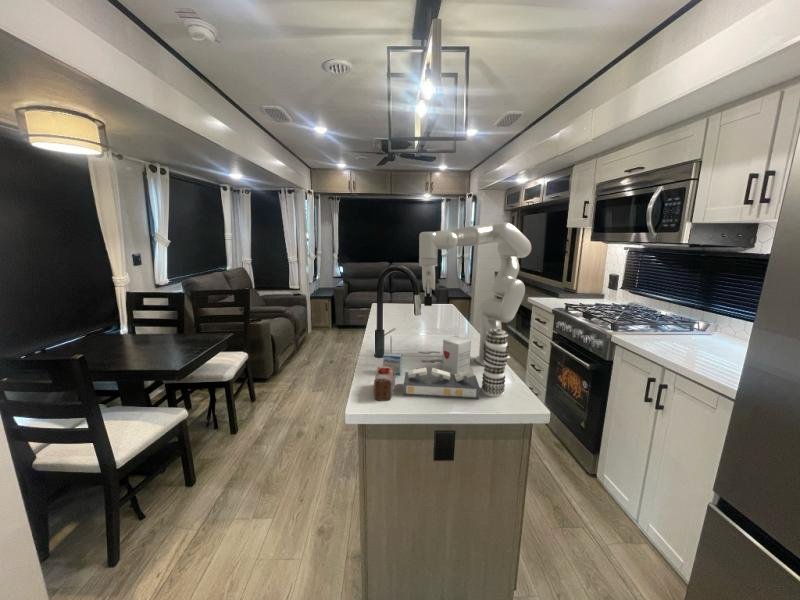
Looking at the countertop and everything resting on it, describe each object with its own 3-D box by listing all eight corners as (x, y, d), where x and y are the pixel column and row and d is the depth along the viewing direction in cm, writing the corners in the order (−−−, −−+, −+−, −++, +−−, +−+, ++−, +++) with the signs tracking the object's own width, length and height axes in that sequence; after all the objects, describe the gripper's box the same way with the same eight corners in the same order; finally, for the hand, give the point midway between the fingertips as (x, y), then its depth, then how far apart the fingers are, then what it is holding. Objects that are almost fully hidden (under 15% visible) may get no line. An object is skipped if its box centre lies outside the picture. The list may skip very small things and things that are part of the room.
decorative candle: (486, 384, 131) (490, 325, 126) (508, 390, 125) (513, 329, 121) (476, 392, 124) (480, 330, 120) (499, 399, 118) (504, 335, 114)
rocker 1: (426, 370, 126) (426, 367, 125) (426, 374, 122) (425, 370, 122) (409, 373, 126) (408, 370, 126) (408, 377, 123) (408, 373, 123)
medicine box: (382, 374, 139) (382, 355, 138) (384, 370, 144) (384, 352, 142) (400, 375, 138) (400, 356, 137) (401, 371, 143) (402, 353, 141)
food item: (376, 384, 130) (376, 361, 128) (395, 384, 130) (395, 361, 128) (372, 400, 117) (372, 375, 115) (394, 401, 117) (394, 376, 115)
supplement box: (441, 370, 144) (442, 338, 141) (454, 365, 150) (455, 335, 147) (456, 377, 137) (458, 344, 135) (469, 372, 143) (471, 340, 140)
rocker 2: (448, 375, 125) (449, 372, 125) (449, 379, 122) (450, 376, 121) (431, 371, 125) (432, 367, 125) (431, 374, 122) (432, 371, 122)
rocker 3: (473, 371, 124) (471, 367, 124) (474, 375, 120) (472, 371, 120) (456, 377, 125) (454, 374, 125) (456, 381, 121) (455, 378, 121)
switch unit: (474, 387, 128) (475, 369, 127) (478, 399, 118) (479, 380, 117) (405, 383, 131) (405, 366, 129) (403, 395, 121) (403, 376, 119)
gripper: (438, 263, 124) (437, 309, 128) (436, 260, 139) (436, 302, 143) (418, 263, 125) (418, 309, 129) (419, 260, 140) (419, 301, 143)
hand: (428, 305), depth 136 cm, fingers closed
